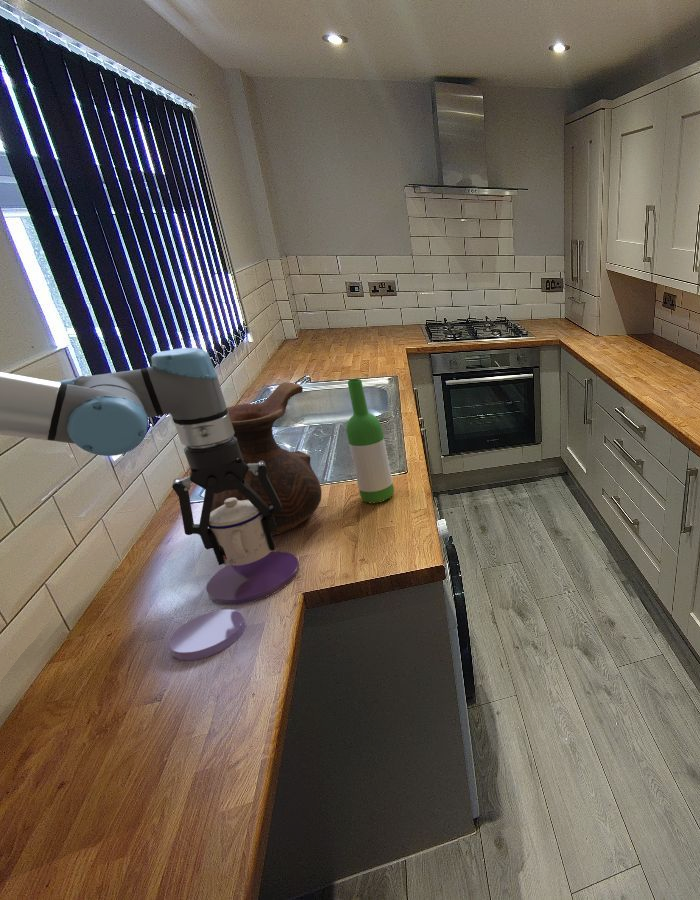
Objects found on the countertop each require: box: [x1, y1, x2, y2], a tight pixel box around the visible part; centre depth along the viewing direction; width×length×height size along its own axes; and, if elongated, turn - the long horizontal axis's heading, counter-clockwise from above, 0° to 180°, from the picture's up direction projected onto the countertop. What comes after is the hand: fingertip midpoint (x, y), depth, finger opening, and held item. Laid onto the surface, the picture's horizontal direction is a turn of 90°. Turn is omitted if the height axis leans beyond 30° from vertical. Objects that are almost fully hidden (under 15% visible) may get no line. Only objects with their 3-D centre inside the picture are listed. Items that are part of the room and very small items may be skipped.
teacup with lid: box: [208, 498, 273, 566], centre depth 96 cm, size 12×9×12 cm
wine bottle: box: [345, 378, 395, 504], centre depth 124 cm, size 8×8×30 cm
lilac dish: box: [168, 608, 246, 661], centre depth 86 cm, size 10×10×2 cm
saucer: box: [206, 550, 300, 606], centre depth 100 cm, size 15×15×1 cm
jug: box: [211, 381, 322, 536], centre depth 114 cm, size 22×22×30 cm
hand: (247, 553), depth 98 cm, fingers closed on teacup with lid, 7 cm apart
